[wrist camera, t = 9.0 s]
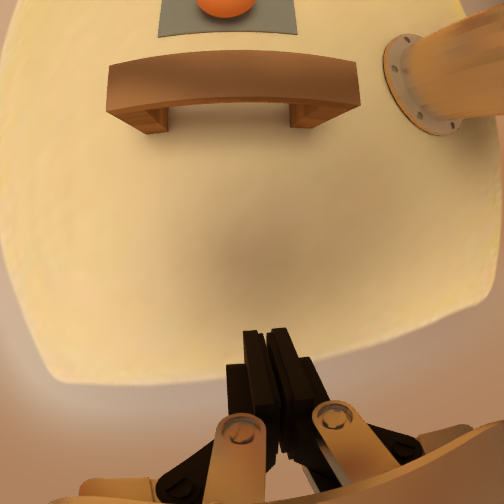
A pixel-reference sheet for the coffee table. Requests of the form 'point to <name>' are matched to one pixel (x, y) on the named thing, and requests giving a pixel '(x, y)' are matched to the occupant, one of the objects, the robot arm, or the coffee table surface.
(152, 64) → the bridge
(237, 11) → the ball
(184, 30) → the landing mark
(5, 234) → the coffee table surface
